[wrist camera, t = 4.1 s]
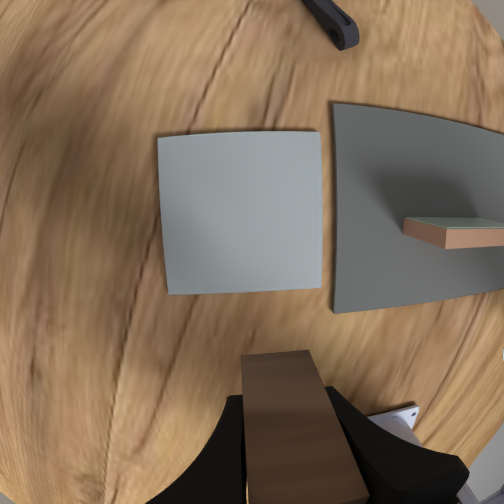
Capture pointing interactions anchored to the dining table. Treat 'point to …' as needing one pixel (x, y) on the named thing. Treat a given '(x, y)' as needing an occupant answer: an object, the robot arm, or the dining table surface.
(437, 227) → the tile
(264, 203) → the rest pad
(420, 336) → the dining table surface
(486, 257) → the slate mat
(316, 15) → the bracket
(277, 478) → the walnut stick
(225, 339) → the dining table surface
